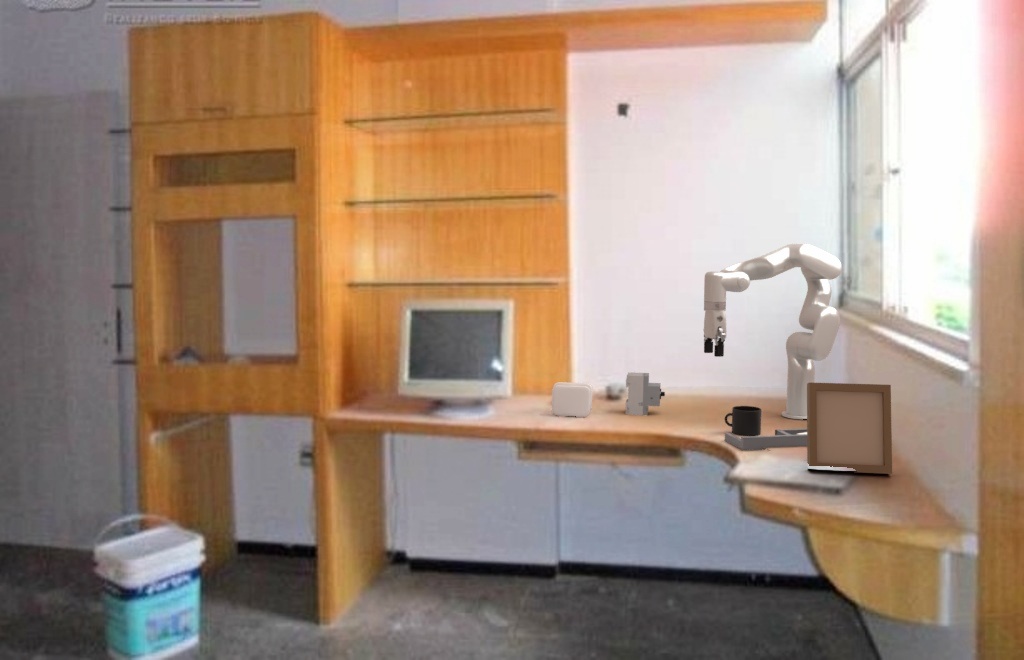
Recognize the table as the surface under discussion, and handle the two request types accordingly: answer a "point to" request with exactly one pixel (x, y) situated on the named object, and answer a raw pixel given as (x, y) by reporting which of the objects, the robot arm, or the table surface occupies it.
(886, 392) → the photo frame
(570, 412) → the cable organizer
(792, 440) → the organizer
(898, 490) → the table surface
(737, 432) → the mug
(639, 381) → the circuit breaker
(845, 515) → the table surface
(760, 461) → the table surface
